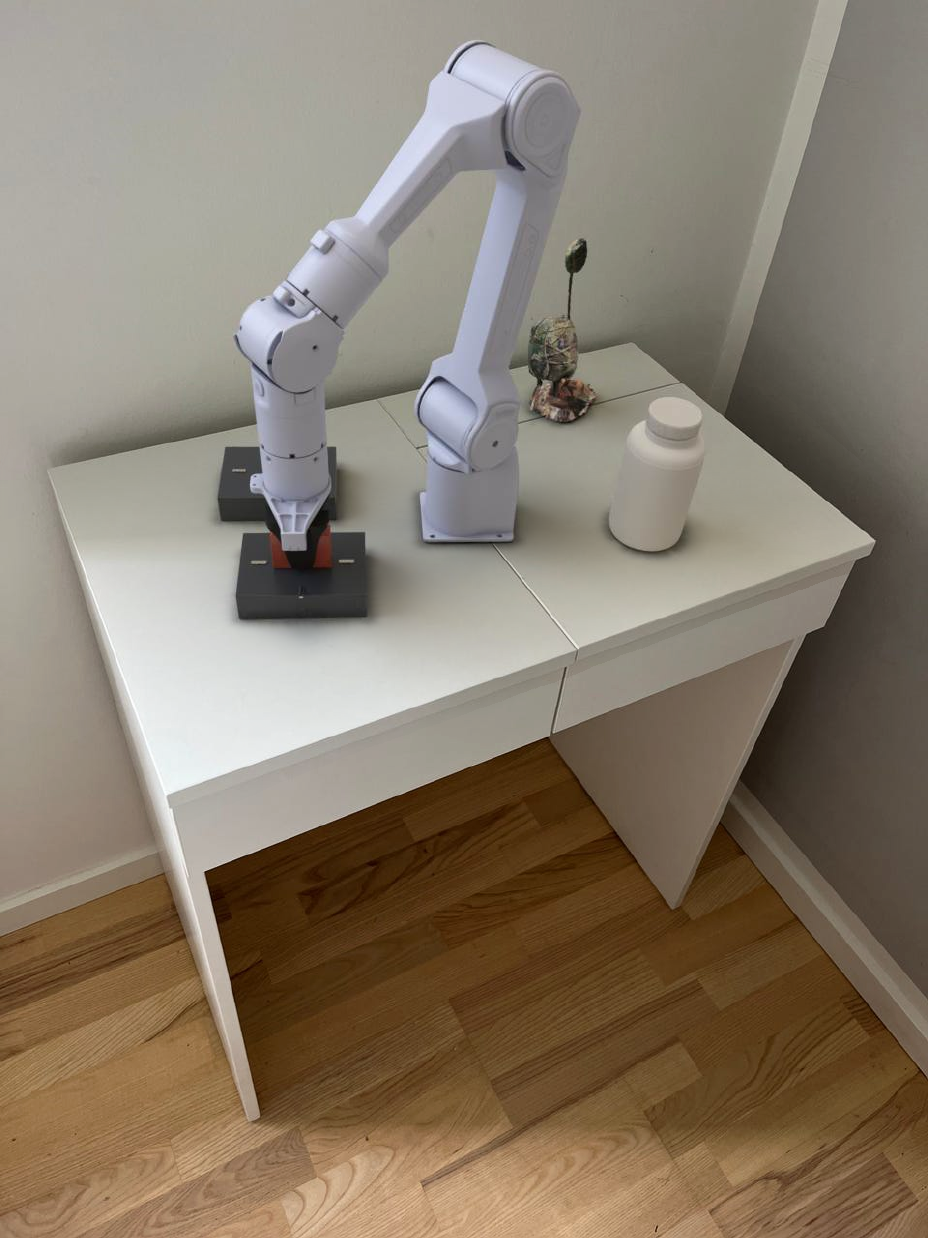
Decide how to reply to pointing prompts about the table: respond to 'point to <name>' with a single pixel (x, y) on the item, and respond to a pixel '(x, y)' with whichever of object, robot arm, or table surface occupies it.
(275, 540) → the block
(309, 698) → the table surface
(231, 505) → the panel
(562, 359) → the plant with pod
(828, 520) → the table surface
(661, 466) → the pill bottle
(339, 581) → the hot tap panel
